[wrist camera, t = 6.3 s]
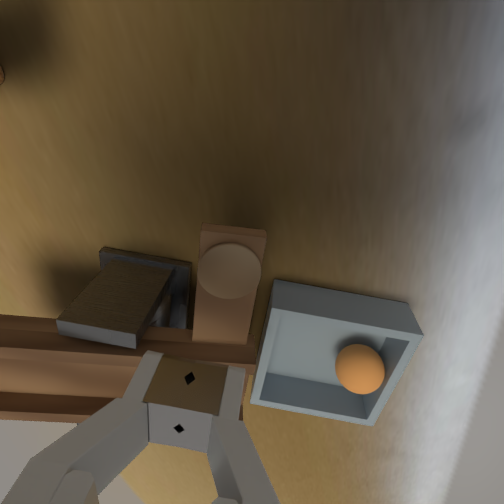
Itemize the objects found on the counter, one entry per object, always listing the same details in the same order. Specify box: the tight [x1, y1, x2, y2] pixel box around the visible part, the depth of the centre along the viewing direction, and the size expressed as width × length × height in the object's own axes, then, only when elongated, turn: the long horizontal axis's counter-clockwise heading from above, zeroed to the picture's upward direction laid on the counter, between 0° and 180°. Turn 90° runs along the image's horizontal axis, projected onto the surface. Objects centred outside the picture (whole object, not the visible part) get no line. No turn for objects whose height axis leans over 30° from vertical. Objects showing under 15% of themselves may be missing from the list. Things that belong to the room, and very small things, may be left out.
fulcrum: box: [56, 247, 192, 425], centre depth 21 cm, size 9×6×7 cm, turn 171°
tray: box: [250, 279, 424, 426], centre depth 23 cm, size 9×9×3 cm
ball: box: [335, 344, 385, 394], centre depth 22 cm, size 3×3×3 cm
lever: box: [0, 223, 267, 423], centre depth 17 cm, size 13×16×3 cm
